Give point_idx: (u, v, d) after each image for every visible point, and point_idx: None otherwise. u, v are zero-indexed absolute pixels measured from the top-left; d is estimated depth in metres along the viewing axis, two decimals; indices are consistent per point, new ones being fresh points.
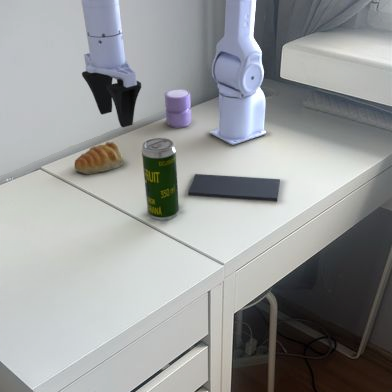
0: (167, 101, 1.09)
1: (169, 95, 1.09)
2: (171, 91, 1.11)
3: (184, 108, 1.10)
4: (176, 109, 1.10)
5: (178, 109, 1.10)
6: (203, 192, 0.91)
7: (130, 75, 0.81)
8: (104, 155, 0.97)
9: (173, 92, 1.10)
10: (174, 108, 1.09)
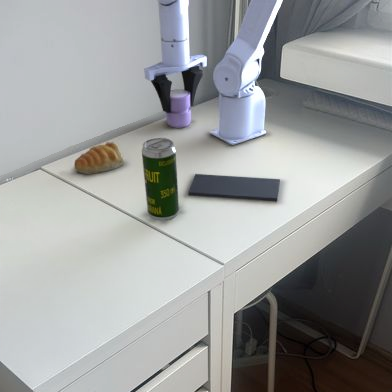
0: None
1: None
2: (171, 91, 1.11)
3: (184, 108, 1.10)
4: (176, 109, 1.10)
5: (178, 109, 1.10)
6: (203, 192, 0.91)
7: (146, 70, 1.03)
8: (104, 155, 0.97)
9: (172, 92, 1.10)
10: (174, 108, 1.09)
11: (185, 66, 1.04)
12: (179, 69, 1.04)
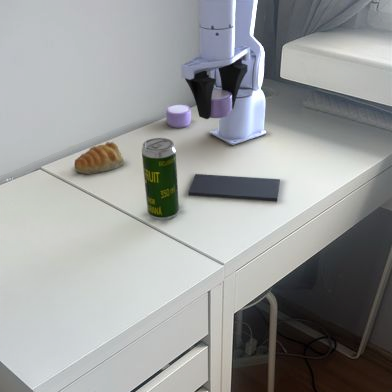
0: None
1: None
2: None
3: (226, 112, 0.89)
4: (217, 114, 0.89)
5: (219, 114, 0.89)
6: (203, 192, 0.91)
7: (184, 67, 0.81)
8: (104, 155, 0.97)
9: None
10: (215, 113, 0.88)
11: (231, 60, 0.83)
12: (224, 64, 0.83)
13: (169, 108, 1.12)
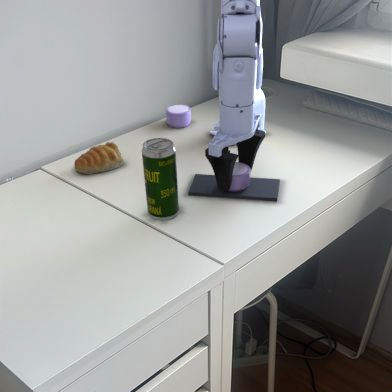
0: None
1: None
2: None
3: (247, 185, 0.90)
4: (239, 188, 0.90)
5: (241, 187, 0.90)
6: (203, 192, 0.91)
7: (213, 146, 0.81)
8: (104, 155, 0.97)
9: None
10: (237, 187, 0.89)
11: (252, 132, 0.84)
12: (247, 137, 0.83)
13: (169, 108, 1.12)
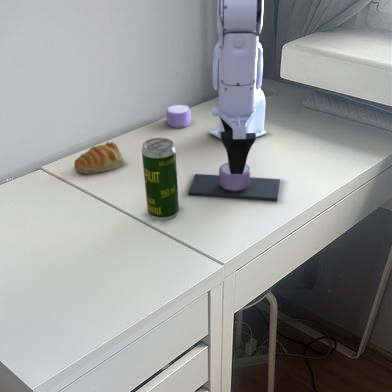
0: (227, 180, 0.89)
1: (228, 173, 0.89)
2: (224, 166, 0.91)
3: (247, 185, 0.90)
4: (239, 188, 0.90)
5: (241, 187, 0.90)
6: (203, 192, 0.91)
7: (239, 128, 0.78)
8: (104, 155, 0.97)
9: (228, 168, 0.90)
10: (237, 187, 0.89)
11: (255, 109, 0.83)
12: (254, 114, 0.82)
13: (169, 108, 1.12)
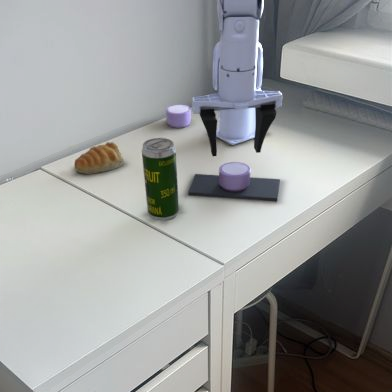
0: (227, 180, 0.89)
1: (228, 173, 0.89)
2: (224, 166, 0.91)
3: (247, 185, 0.90)
4: (239, 188, 0.90)
5: (241, 187, 0.90)
6: (203, 192, 0.91)
7: None
8: (104, 155, 0.97)
9: (228, 168, 0.90)
10: (237, 187, 0.89)
11: None
12: None
13: (169, 108, 1.12)
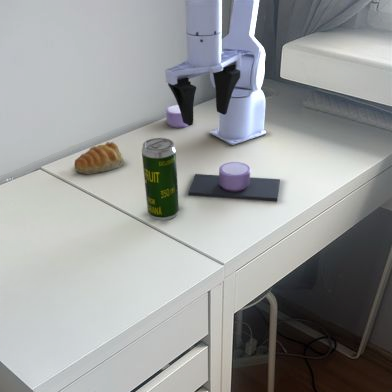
0: (227, 180, 0.89)
1: (228, 173, 0.89)
2: (224, 166, 0.91)
3: (247, 185, 0.90)
4: (239, 188, 0.90)
5: (241, 187, 0.90)
6: (203, 192, 0.91)
7: (238, 54, 0.87)
8: (104, 155, 0.97)
9: (228, 168, 0.90)
10: (237, 187, 0.89)
11: None
12: None
13: (169, 108, 1.12)
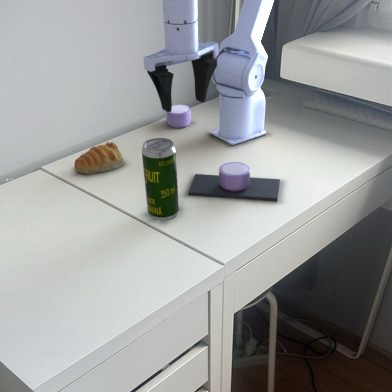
0: (227, 180, 0.89)
1: (228, 173, 0.89)
2: (224, 166, 0.91)
3: (247, 185, 0.90)
4: (239, 188, 0.90)
5: (241, 187, 0.90)
6: (203, 192, 0.91)
7: None
8: (104, 155, 0.97)
9: (228, 168, 0.90)
10: (237, 187, 0.89)
11: None
12: None
13: None
